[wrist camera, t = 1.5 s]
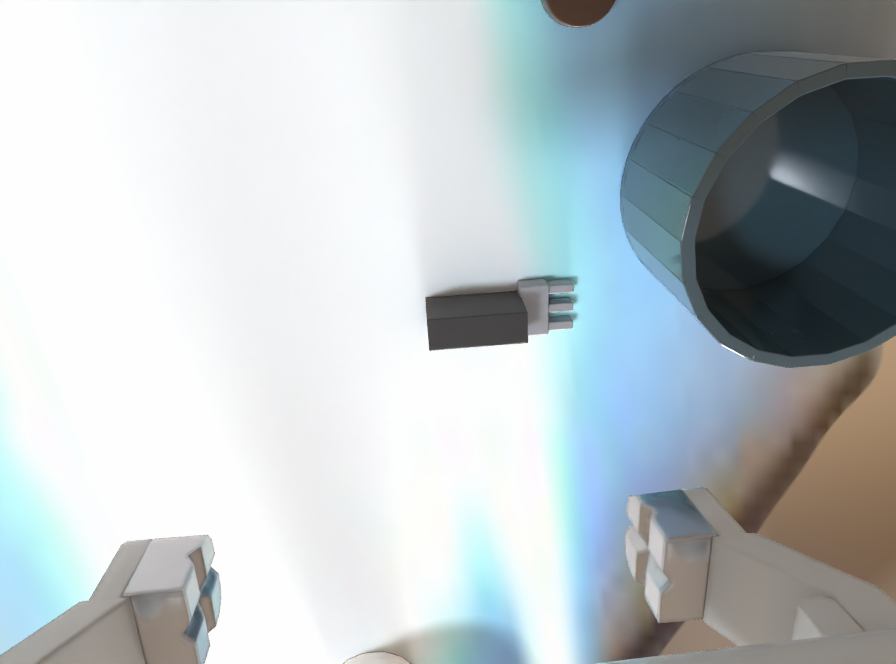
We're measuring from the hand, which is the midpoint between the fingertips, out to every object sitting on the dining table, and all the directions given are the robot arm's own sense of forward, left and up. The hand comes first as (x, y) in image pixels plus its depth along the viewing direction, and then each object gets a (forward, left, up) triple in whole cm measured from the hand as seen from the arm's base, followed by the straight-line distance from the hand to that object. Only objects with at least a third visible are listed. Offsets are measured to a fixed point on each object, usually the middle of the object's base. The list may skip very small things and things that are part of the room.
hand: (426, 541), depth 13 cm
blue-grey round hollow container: (0, +17, -24) cm, 29 cm away
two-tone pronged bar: (+6, +4, -24) cm, 25 cm away
